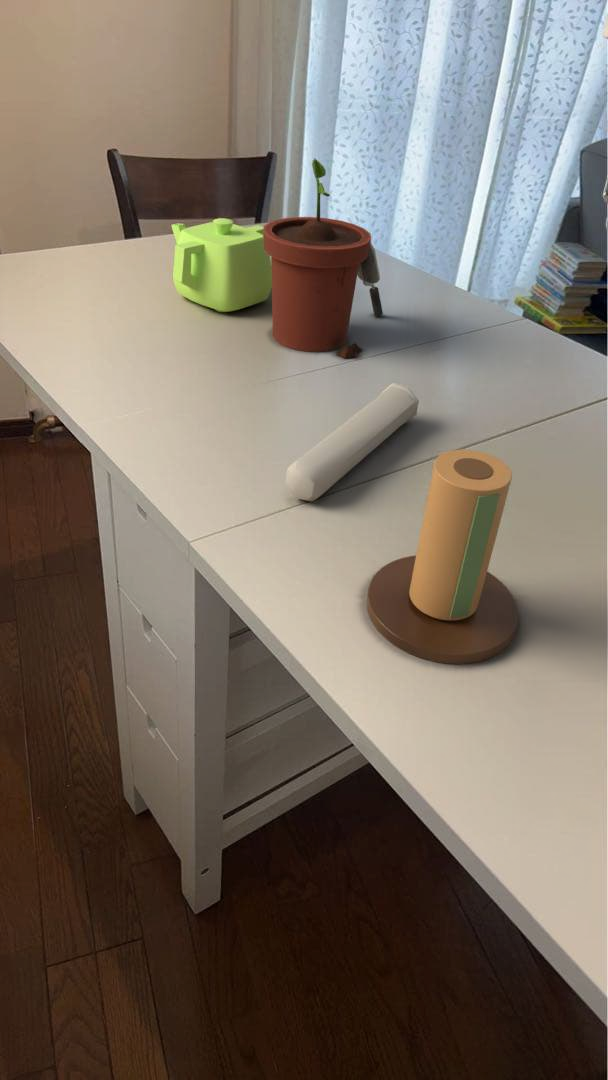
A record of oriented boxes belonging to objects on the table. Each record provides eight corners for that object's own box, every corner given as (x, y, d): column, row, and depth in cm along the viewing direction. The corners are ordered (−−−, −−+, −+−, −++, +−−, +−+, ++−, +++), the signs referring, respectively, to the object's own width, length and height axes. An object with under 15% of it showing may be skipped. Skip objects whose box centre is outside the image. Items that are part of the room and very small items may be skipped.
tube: (324, 485, 84) (425, 398, 101) (285, 455, 85) (391, 374, 102) (307, 518, 87) (407, 429, 105) (269, 490, 88) (375, 406, 106)
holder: (530, 592, 78) (534, 580, 77) (494, 686, 68) (498, 673, 67) (396, 548, 82) (398, 536, 81) (343, 629, 72) (344, 617, 71)
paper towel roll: (452, 569, 78) (481, 443, 69) (493, 612, 73) (530, 482, 64) (396, 584, 75) (419, 455, 67) (434, 629, 70) (464, 497, 62)
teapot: (133, 294, 134) (127, 213, 126) (218, 270, 147) (218, 195, 139) (209, 327, 125) (209, 242, 117) (293, 298, 138) (298, 220, 130)
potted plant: (253, 313, 131) (258, 147, 116) (381, 314, 135) (402, 153, 120) (265, 358, 117) (272, 176, 102) (407, 358, 121) (434, 182, 106)
